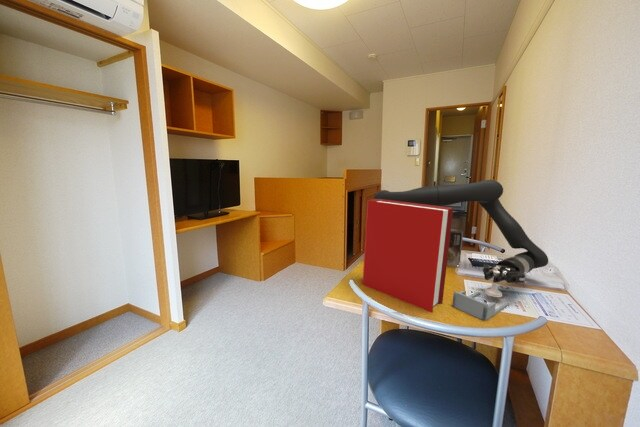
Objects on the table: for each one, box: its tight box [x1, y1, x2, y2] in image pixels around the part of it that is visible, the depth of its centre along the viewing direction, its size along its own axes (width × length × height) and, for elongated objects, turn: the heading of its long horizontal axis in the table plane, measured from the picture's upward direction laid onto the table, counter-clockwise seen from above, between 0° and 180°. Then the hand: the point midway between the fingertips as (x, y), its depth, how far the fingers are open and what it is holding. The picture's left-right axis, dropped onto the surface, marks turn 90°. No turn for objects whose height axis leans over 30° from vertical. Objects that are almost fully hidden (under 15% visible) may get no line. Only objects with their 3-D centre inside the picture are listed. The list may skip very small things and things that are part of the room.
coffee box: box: [447, 228, 464, 268], centre depth 126 cm, size 9×6×16 cm
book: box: [362, 198, 454, 313], centre depth 93 cm, size 27×8×32 cm, turn 45°
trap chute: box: [451, 290, 511, 322], centre depth 88 cm, size 10×17×5 cm, turn 124°
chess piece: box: [484, 266, 503, 298], centre depth 92 cm, size 5×5×10 cm
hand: (490, 278), depth 89 cm, fingers closed on chess piece
